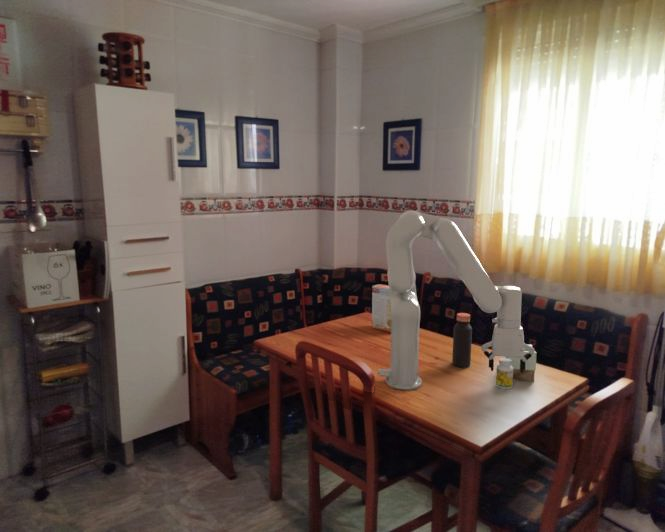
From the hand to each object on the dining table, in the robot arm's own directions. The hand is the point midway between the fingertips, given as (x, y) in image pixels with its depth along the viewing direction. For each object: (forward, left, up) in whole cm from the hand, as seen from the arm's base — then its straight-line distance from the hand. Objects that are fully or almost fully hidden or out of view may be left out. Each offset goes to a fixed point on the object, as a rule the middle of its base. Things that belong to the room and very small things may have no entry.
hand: (506, 370), depth 168 cm
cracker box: (-48, +53, -6) cm, 72 cm away
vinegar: (-15, +17, -6) cm, 23 cm away
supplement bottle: (-1, 0, -6) cm, 6 cm away
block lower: (+6, +11, -6) cm, 14 cm away
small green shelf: (+6, +11, -2) cm, 12 cm away
